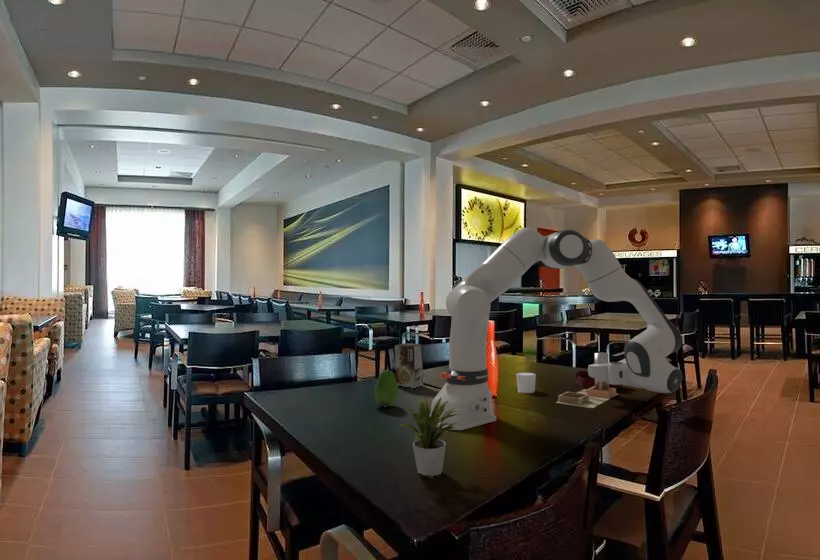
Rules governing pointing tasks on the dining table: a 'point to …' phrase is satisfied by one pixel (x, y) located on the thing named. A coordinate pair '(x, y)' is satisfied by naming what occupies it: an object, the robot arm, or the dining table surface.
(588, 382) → the ashtray
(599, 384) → the peg
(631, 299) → the robot arm
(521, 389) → the white cup
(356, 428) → the dining table surface
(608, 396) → the marked socket
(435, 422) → the house plant
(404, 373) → the coffee box
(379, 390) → the avocado
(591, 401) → the rail board
